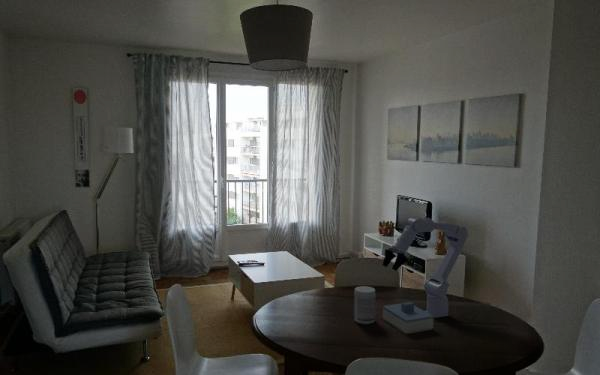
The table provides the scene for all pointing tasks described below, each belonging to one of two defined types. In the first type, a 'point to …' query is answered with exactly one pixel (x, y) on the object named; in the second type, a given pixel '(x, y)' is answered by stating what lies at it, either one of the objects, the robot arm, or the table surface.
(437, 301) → the robot arm
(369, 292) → the supplement tub
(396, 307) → the snap lid
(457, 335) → the table surface
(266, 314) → the table surface
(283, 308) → the table surface
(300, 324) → the table surface
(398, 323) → the parts tub
